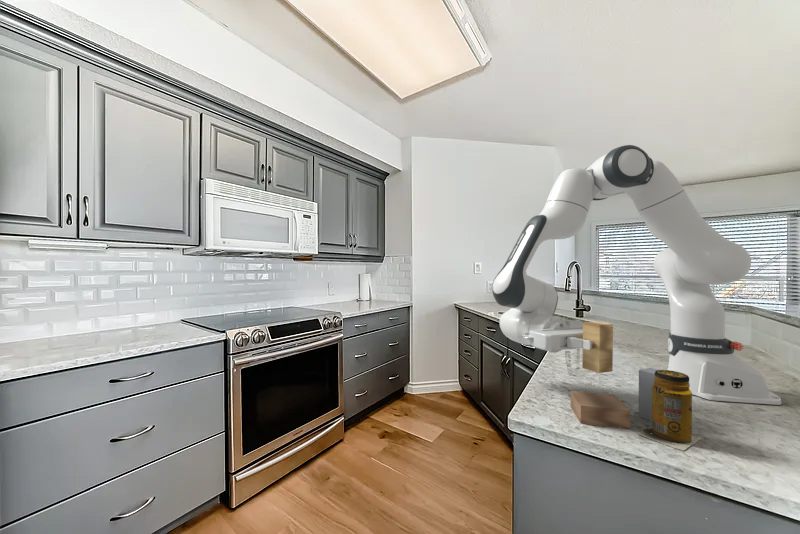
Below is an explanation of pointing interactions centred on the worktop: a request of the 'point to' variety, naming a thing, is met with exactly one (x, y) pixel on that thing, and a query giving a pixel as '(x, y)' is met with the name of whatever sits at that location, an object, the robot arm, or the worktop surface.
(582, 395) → the walnut plinth
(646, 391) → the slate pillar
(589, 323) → the oak pillar
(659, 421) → the condiment
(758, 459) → the worktop surface
